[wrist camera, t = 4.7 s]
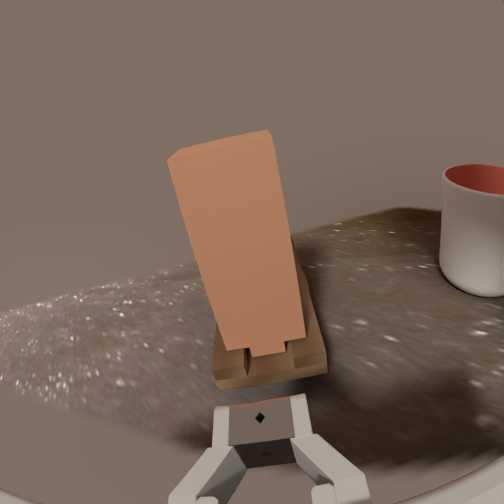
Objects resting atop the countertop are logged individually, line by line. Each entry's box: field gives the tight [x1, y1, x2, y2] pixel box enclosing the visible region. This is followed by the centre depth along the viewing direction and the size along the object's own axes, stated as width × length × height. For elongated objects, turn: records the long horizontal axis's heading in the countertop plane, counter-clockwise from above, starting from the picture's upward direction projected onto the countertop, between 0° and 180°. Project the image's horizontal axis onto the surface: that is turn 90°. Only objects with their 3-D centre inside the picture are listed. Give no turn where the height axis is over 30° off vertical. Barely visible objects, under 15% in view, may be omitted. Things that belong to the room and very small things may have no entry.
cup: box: [439, 164, 504, 297], centre depth 24 cm, size 10×10×10 cm
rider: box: [167, 130, 306, 357], centre depth 19 cm, size 5×4×13 cm
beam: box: [212, 236, 328, 390], centre depth 27 cm, size 7×17×4 cm, turn 2°
